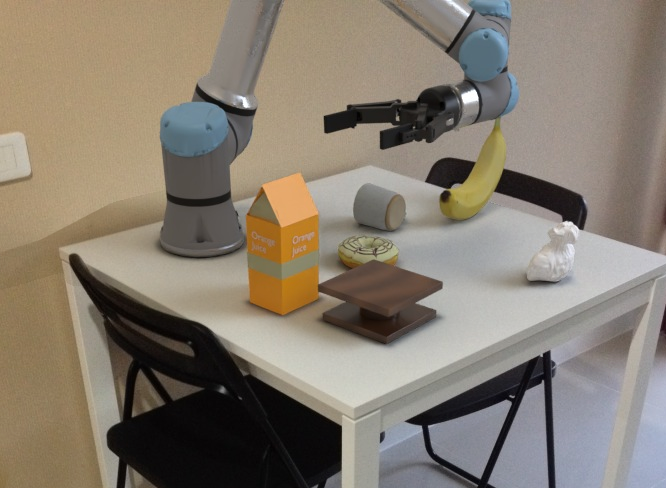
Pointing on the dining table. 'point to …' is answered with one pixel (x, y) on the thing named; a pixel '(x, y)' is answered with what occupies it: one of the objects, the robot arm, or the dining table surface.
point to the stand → (379, 300)
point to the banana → (477, 179)
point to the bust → (555, 254)
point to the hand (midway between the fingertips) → (352, 132)
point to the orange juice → (283, 246)
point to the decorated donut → (367, 250)
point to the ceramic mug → (379, 207)
